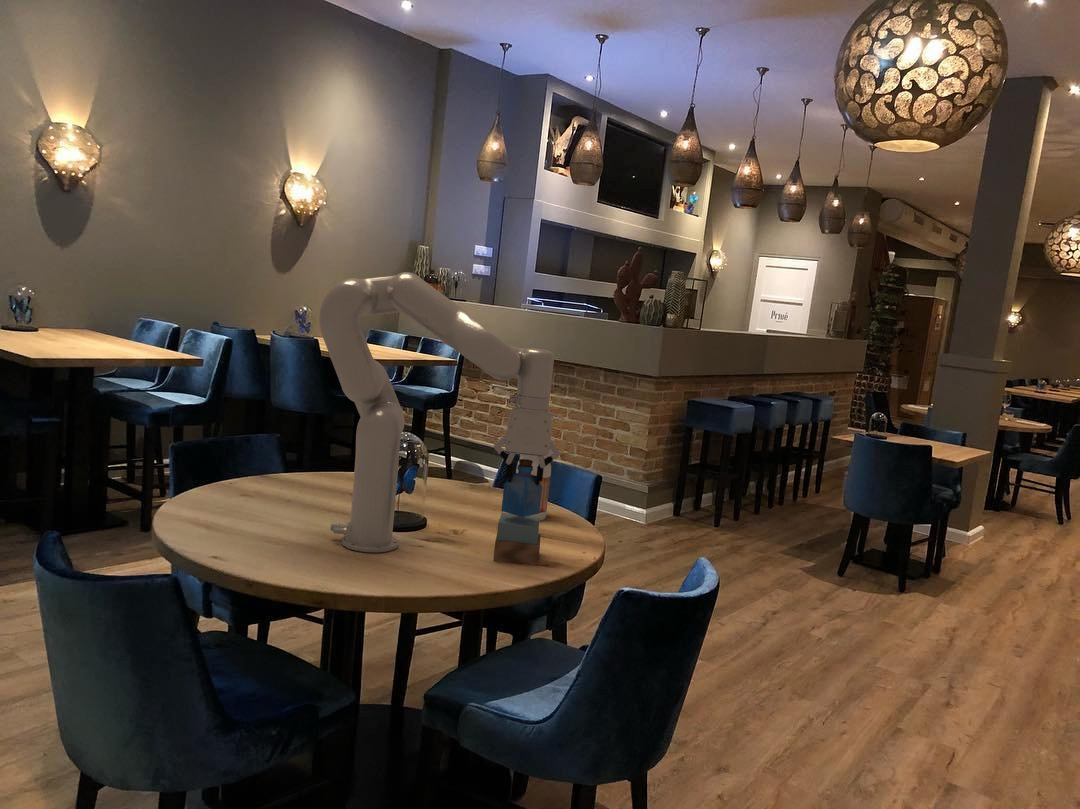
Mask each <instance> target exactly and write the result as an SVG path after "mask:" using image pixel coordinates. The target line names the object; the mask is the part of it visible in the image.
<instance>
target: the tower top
mask: <svg viewBox="0 0 1080 809" xmlns="http://www.w3.org/2000/svg"><path fill="white" fill-rule="evenodd" d="M540 523H541V522H540V517H534V516H526V517H521V516H517V515H514V514H510V513H507V512H501V515H500V517H499V520H498V523H497V533H496V536H497V540H502V541H511V542H519V543H528V544H537V538H538V534H539V530H540Z"/></svg>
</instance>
